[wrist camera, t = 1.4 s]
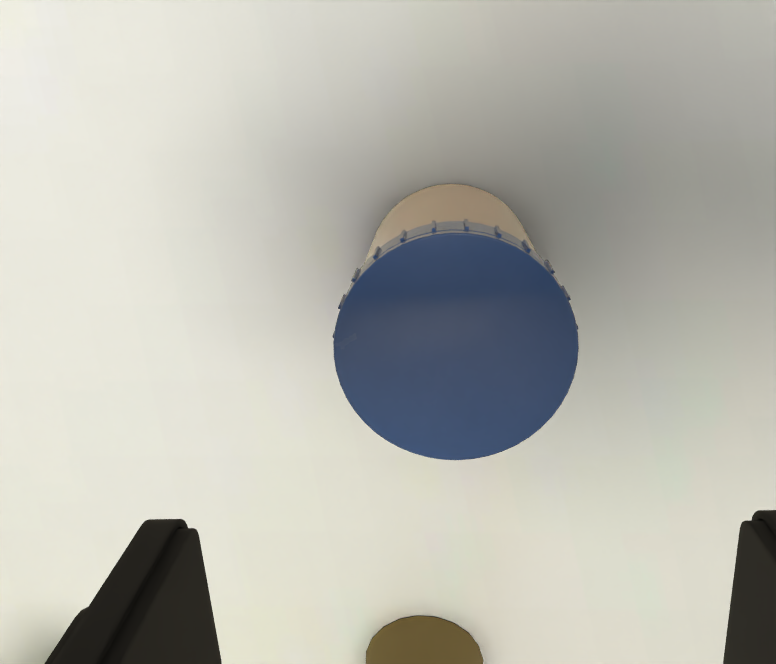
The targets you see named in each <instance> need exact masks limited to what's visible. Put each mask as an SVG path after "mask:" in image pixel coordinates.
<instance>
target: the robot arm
mask: <svg viewBox="0 0 776 664" xmlns="http://www.w3.org/2000/svg"><path fill="white" fill-rule="evenodd" d="M45 664H221V656H220V651H219V645H218V640H217V634H216V629H215V623H214V617H213V612H212V606H211V601H210V595H209V590H208V584H207V578H206V573H205V567H204V562H203V556H202V551H201V545H200V540H199V535H198V532H197V530H196V529H194V528H188V527H187V524H186V522H185V521H184V520H182V519H155V520H146V521H145V522H144V523H143V524H142V525H141V527H140V528H139V530H138V531H137V533H136V534H135V536H134V538H133V539H132V541H131V542H130V544H129V545H128V547H127V548H126V550H125V551H124V553H123V554H122V556H121V558H120V559H119V561H118V562H117V564H116V565H115V567H114V568H113V570H112V571H111V573H110V574H109V576H108V578H107V579H106V581H105V582H104V584H103V585H102V587H101V588H100V590H99V591H98V593H97V594H96V596H95V598H94V599H93V601H92V602H91V604H90V605H89V607H87V608H85V609H83V610H81V611H80V613H79V614H78V615H77V616H76V617H75V618H74V620H73V621H72V623H71V624H70V626H69V627H68V629H67V631H66V632H65V634H64V635H63V637H62V638H61V640H60V641H59V643H58V644H57V646H56V647H55V649H54V650H53V652H52V653H51V655H50V656H49V658H48V659H47V661H46V662H45ZM723 664H776V510H760V511H757V512H755V513H754V515H753V517H752V521H744V522H742V524H741V527H740V532H739V540H738V548H737V556H736V564H735V572H734V580H733V588H732V596H731V604H730V612H729V620H728V628H727V636H726V645H725V653H724V661H723Z"/></svg>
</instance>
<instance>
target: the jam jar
mask: <svg viewBox="0 0 776 664" xmlns="http://www.w3.org/2000/svg"><path fill="white" fill-rule="evenodd" d="M464 219H468V222H474V223H480V224H484V225H488V226H491V227H495V225H497V226H499V228H500V230H502V231H505V232H507V233H509V234H511V235H513V236H514V237H516V238H518V239H519V240H521V241H523V240H524V239H525V240H526V241H527V242H528V244H529V246H530V248H532V249H533V250H534V251H535V249H534V247H533V245H532V243H531V241H530V239H529V237H528V236H527V234H526V232H525V230H524V228H523V226H522V224H521V222H520V221H519V219H518V218H517V217H516V215H515V214H514V212H513V211H512V210H511V209H510V208H509V207H508V206H507V205H506V204H505V203H503V202H502V201H501V200H500V199H498V198H497V197H495V196H493V195H492V194H490V193H488V192H486V191H484V190H481V189H479V188H475V187H472V186H468V185H461V184H442V185H435V186H431V187H427V188H424V189H422V190H419V191H417V192H415V193H413V194H411V195H409V196H407V197H406V198H404V199H403V200H402V201H400V202H399V203H398V204H397V205H396V206H395V207H394V208H393V209H392V210H390V212H389V213H388V214H387V215H386V217H385V218H384V219H383V221H382V223H381V224H380V226H379V228H378V230H377V232H376V234H375V237H374V239H373V242H372V244H371V247H370V250H369V252H368V255H367V257H366V260H365V262H366V261H367V260H368V258H369V257H370V256H372V255H373V254H374V251H375V248H376V247H377V246H379V247H382V246H383V245H384V244H386V243H387V242H388V241H390V240H391V239H393V238H395V237H397V236H398V235H400V234H401V231H402V230H404V229H405V231H409V230H411V229H414V228H416V227H419V226H423V225H427V224H431V223H432V221H433V220H436V223H437V222H446V221H464ZM535 252H536V251H535ZM536 253H537V252H536ZM365 262H364V263H365Z"/></svg>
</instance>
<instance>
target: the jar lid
mask: <svg viewBox="0 0 776 664" xmlns="http://www.w3.org/2000/svg"><path fill="white" fill-rule="evenodd" d="M554 273H555V272H554V270H553V268H552V266H551V265H550V263H549V262H548V260H546V261H544V260H543V259H542V258H541V257H540V256H539V255H538V254H537V253H536V252H535V251H534V250H533V249H532V248H530V246H529V244H528V242H527V241H526V240H525V239H524V240H523V241H521V240H519V239H518V238H516V237H514V236H513V235H511V234H509V233H507V232H505V231H502V230H500V228H499V226H497V225H495V227H491V226H488V225H484V224H480V223H474V222H468V219H464V221H446V222H437V223H436V220H433V221H432V223H431V224H427V225H423V226H419V227H416V228H414V229H411V230H409V231H405V229H404V230H402V231H401V234H400V235H398V236H397V237H395V238H393V239H391V240H390V241H388V242H387V243H386V244H384V245H383V246H382V247H379V246H377V247H376V248H375V251H374V254H373V255H372V256H370V257H369V258H368V260H367V261H366V262H365V263H364V265H363V266H362V267H361V268H360V269H358V268H357V269H356V271H355V273H354V276H353V278H352V280H351V281H352V283H351V285H350V288H349V290H348V292H347V295H345V294H344V295H343V297H342V299H341V302H340V304H339V307H338V309H340V312H339V315H338V319H337V323H336V326H335V331H334V334H333V338H334V360H335V367H336V372H337V375H338V378H339V382H340V385H341V387H342V389H343V391H344V393H345V396H346V398H347V399H348V401H349V403H350V404H351V406H352V407H353V409H354V410H355V412H356V413H357V414H358V415H359V416H360V418H361V419H362V420H363V421H364V422H365V423H366V424H367V425H368V426H369V427H370V428H371V429H372V430H373V431H374V432H376V433H377V434H378V435H380V436H381V437H383V438H384V439H385V440H387V441H389V442H390V443H392V444H394V445H396V446H398V447H400V448H402V449H404V450H407V451H409V452H412V453H415V454H418V455H422V456H426V457H430V458H437V459H444V460H465V459H475V458H480V457H485V456H489V455H493V454H496V453H499V452H502V451H504V450H506V449H509V448H511V447H513V446H515V445H517V444H519V443H520V442H522V441H524V440H525V439H527V438H529V437H530V436H531V435H533V434H534V433H535V432H536V431H538V430H539V429H540V428H541V427H542V426H543V425H544V424H545V423H546V422H547V421H548V420H549V419H550V418H551V417H552V416H553V414H554V413H555V412H556V410H557V409H558V408H559V406H560V405H561V403H562V402H563V400H564V398H565V396H566V395H567V393H568V391H569V388H570V386H571V383H572V381H573V378H574V374H575V370H576V366H577V359H578V349H579V348H578V331H577V330H578V326H577V324H576V321H575V317H574V314H573V311H572V308H571V305H570V303H569V300H571V299H570V297H569V295H568V293H567V291H566V290H565V288H564V286H560V284H559V282H558V280H557V279H556V277H555V275H554Z"/></svg>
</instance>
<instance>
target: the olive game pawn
mask: <svg viewBox="0 0 776 664" xmlns="http://www.w3.org/2000/svg"><path fill="white" fill-rule="evenodd" d="M366 664H483V659H482V655H481V652H480V649H479V646H478V645H477V643H476V642H475V641H474V639H473V638H472V637H471V636H470V634H469V633H468V632H466V631H465V630H463V629H462V628H460V627H459V626H457V625H456V624H454V623H452V622H449V621H446V620H443V619H440V618H437V617H426V616H414V617H409V618H403V619H399V620H397V621H395V622H393V623H391V624H389V625H387V626H385V627H383V628H382V629H381V630H380V631H379V632H378V633H377V634H376V635H375V636H374V637H373V638H372V640H371V642H370V644H369V647H368V649H367V651H366Z"/></svg>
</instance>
